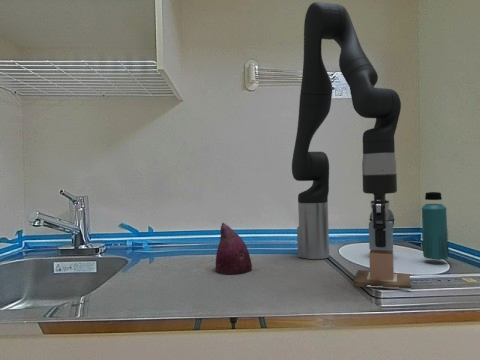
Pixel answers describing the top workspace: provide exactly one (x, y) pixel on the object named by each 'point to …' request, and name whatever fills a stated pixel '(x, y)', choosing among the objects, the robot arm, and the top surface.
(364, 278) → the board
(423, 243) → the beverage bottle
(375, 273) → the terracotta block
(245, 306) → the top surface
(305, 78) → the robot arm
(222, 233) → the vegetable
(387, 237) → the slate block
